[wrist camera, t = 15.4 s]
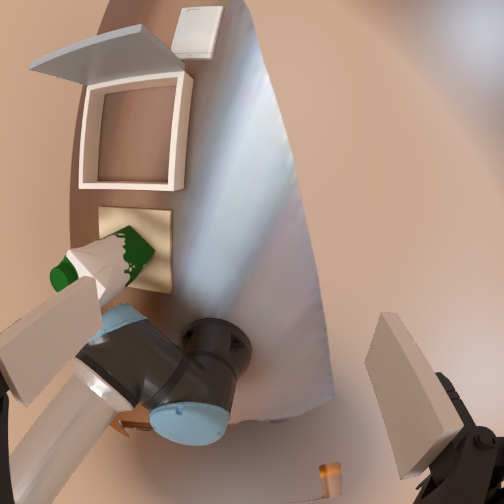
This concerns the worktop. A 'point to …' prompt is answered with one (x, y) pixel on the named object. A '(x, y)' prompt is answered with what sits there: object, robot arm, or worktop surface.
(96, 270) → the soya milk
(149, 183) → the equipment case
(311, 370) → the worktop surface
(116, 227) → the wooden mat
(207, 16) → the hard drive
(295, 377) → the worktop surface
